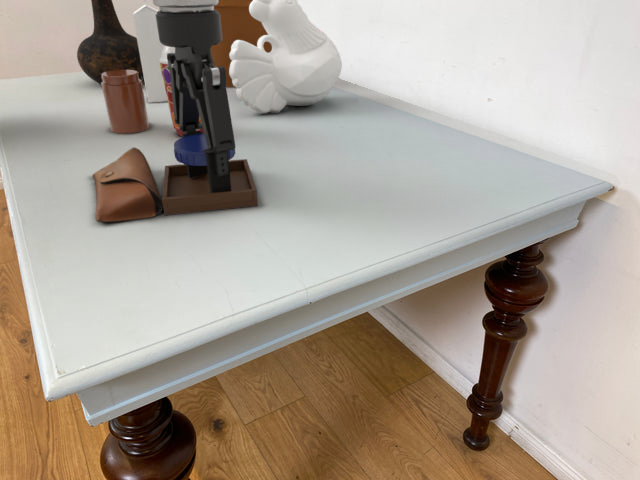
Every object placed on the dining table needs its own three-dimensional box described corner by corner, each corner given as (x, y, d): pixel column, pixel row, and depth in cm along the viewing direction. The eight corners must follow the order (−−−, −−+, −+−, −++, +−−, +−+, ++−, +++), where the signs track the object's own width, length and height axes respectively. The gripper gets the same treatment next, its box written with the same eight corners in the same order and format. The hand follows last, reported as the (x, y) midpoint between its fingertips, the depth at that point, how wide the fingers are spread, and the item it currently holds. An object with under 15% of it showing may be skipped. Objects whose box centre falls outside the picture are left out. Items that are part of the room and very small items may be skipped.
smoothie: (214, 125, 97) (202, 17, 87) (215, 138, 90) (202, 21, 80) (171, 127, 96) (154, 17, 86) (169, 141, 89) (150, 22, 79)
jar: (109, 134, 92) (96, 77, 86) (113, 124, 98) (101, 70, 92) (148, 132, 93) (138, 75, 88) (150, 121, 99) (141, 68, 94)
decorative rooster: (334, 65, 118) (266, -24, 106) (364, 63, 104) (290, -40, 92) (264, 137, 117) (187, 55, 105) (285, 145, 103) (200, 51, 91)
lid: (232, 144, 70) (231, 131, 69) (237, 163, 64) (236, 149, 63) (176, 148, 69) (174, 135, 68) (174, 168, 62) (172, 154, 61)
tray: (164, 215, 63) (161, 199, 61) (167, 179, 73) (165, 165, 72) (257, 205, 65) (256, 190, 64) (247, 172, 75) (246, 158, 74)
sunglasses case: (88, 173, 73) (104, 134, 72) (134, 188, 77) (150, 151, 76) (95, 223, 59) (114, 176, 58) (150, 238, 63) (170, 194, 62)
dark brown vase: (157, 75, 141) (140, -35, 126) (146, 88, 125) (125, -35, 111) (94, 76, 138) (68, -36, 124) (75, 90, 123) (44, -35, 109)
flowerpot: (269, 67, 151) (264, -18, 139) (313, 84, 130) (312, -14, 119) (181, 76, 139) (168, -16, 127) (214, 96, 118) (202, -11, 106)
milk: (148, 103, 113) (128, -2, 101) (148, 97, 118) (130, -4, 106) (175, 101, 114) (158, -3, 103) (174, 95, 119) (158, -5, 108)
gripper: (255, 13, 51) (267, 205, 63) (186, 2, 66) (205, 158, 78) (188, 17, 48) (213, 220, 59) (131, 4, 63) (160, 167, 74)
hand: (209, 185), depth 68 cm, fingers closed on lid, 8 cm apart
